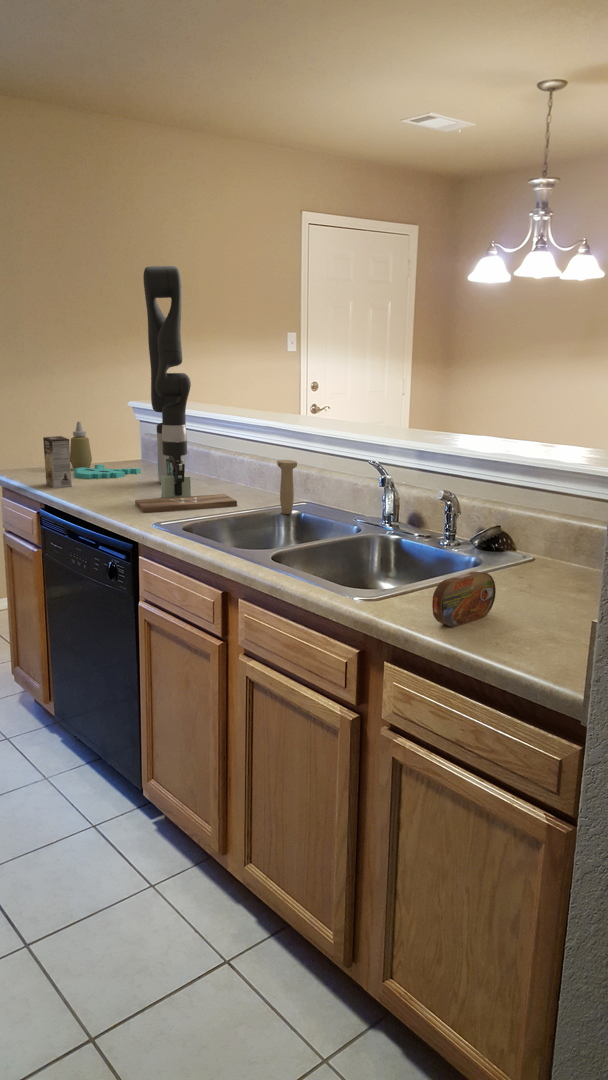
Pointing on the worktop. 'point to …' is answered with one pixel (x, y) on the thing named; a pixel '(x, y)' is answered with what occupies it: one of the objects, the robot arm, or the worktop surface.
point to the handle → (286, 485)
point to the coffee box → (57, 461)
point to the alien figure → (103, 472)
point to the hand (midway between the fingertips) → (176, 493)
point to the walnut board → (185, 503)
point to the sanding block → (168, 486)
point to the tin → (463, 598)
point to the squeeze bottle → (80, 449)
